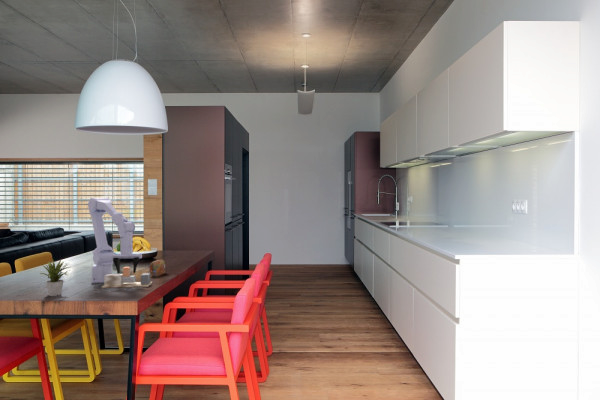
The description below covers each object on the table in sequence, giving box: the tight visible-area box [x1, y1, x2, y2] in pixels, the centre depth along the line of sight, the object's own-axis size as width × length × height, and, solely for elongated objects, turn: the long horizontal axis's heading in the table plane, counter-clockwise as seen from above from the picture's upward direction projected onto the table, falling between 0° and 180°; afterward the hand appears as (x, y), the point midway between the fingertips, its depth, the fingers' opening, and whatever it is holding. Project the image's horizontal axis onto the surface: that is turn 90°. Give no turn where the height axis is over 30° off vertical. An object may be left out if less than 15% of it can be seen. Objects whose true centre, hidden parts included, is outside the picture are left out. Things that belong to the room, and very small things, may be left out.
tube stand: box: [101, 273, 153, 289], centre depth 237 cm, size 22×10×5 cm, turn 97°
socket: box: [140, 272, 151, 285], centre depth 238 cm, size 4×6×5 cm, turn 7°
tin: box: [149, 259, 167, 277], centre depth 268 cm, size 15×3×8 cm, turn 168°
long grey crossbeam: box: [122, 266, 137, 283], centre depth 236 cm, size 14×3×8 cm, turn 97°
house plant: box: [39, 258, 71, 297], centre depth 213 cm, size 14×14×16 cm
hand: (126, 272), depth 237 cm, fingers open, 7 cm apart
